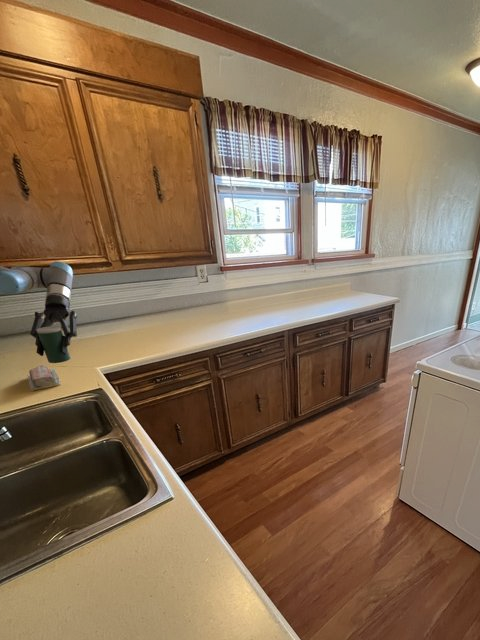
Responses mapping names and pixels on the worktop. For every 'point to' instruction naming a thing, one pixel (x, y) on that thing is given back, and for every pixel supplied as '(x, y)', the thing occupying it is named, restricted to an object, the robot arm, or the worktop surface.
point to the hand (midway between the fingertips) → (51, 353)
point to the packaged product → (42, 378)
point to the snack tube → (52, 344)
